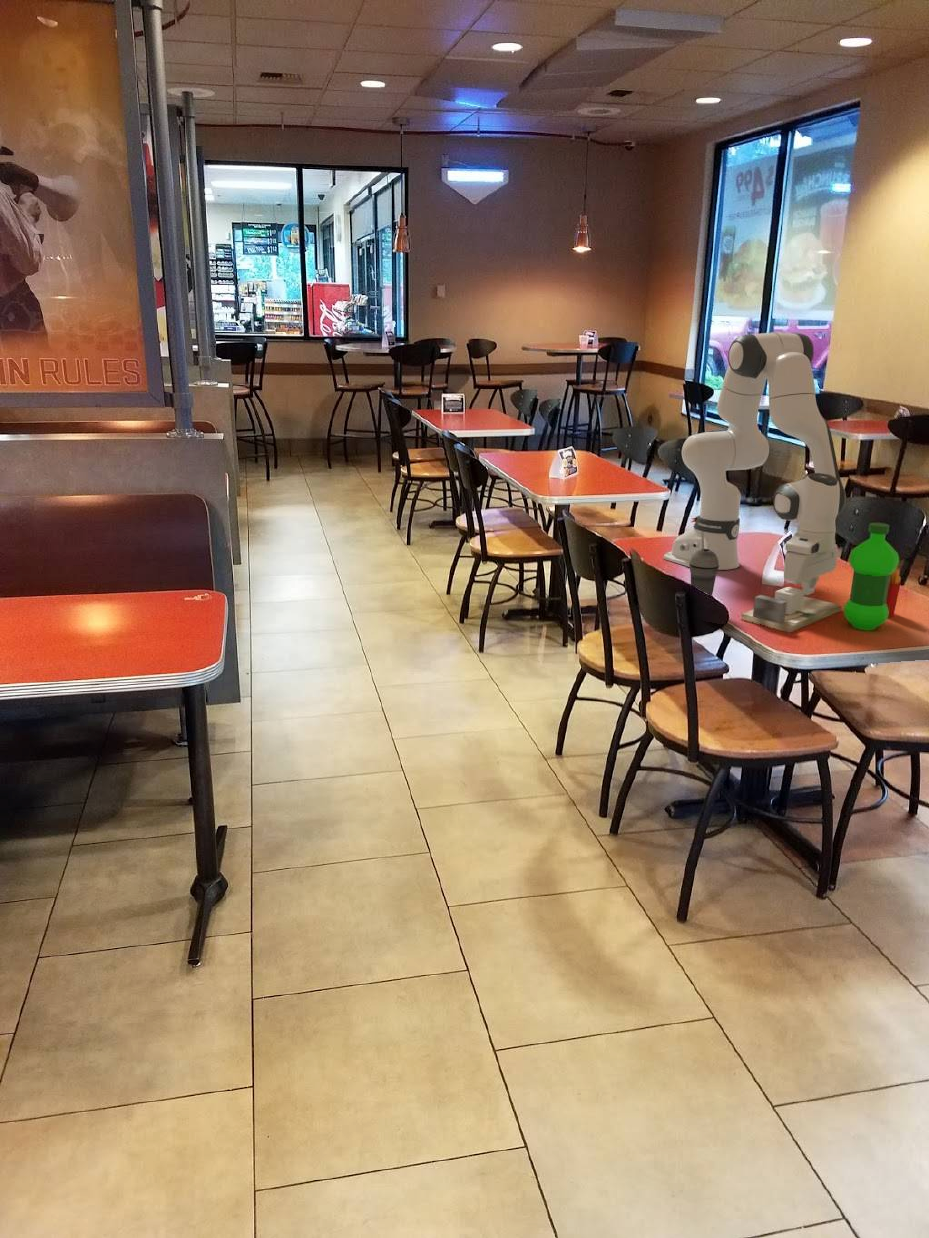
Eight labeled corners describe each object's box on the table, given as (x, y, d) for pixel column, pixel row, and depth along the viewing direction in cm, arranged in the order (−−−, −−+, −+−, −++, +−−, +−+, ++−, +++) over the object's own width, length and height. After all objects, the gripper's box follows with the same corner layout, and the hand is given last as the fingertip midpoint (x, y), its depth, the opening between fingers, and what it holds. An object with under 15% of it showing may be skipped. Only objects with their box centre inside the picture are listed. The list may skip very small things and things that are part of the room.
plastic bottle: (834, 627, 219) (848, 525, 211) (851, 617, 227) (865, 517, 219) (877, 636, 213) (893, 531, 205) (893, 626, 220) (909, 524, 212)
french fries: (898, 617, 227) (906, 570, 223) (883, 618, 226) (891, 571, 222) (879, 607, 235) (886, 561, 231) (865, 607, 234) (872, 562, 230)
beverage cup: (707, 615, 227) (715, 536, 221) (680, 609, 232) (687, 532, 225) (719, 608, 233) (727, 531, 227) (692, 602, 237) (699, 527, 231)
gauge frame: (741, 619, 225) (743, 594, 222) (793, 599, 240) (796, 575, 238) (789, 632, 215) (793, 606, 213) (840, 610, 231) (844, 586, 229)
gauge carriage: (766, 613, 224) (769, 592, 222) (785, 605, 229) (788, 585, 228) (797, 621, 218) (800, 599, 216) (816, 613, 224) (819, 592, 222)
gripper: (823, 531, 236) (816, 583, 240) (782, 544, 223) (775, 598, 227) (847, 536, 231) (839, 588, 236) (806, 549, 218) (799, 604, 223)
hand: (807, 593), depth 231 cm, fingers closed
